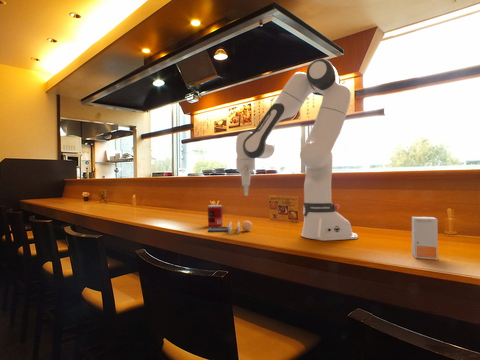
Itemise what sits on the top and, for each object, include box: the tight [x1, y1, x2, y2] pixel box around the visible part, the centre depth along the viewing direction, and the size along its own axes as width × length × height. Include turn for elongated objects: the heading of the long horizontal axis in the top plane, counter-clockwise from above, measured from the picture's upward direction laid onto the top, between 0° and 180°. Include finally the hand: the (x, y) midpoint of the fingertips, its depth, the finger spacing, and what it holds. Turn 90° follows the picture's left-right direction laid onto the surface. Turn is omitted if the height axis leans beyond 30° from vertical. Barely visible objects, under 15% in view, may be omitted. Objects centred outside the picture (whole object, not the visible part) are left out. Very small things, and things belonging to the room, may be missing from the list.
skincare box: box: [411, 216, 439, 261], centre depth 87 cm, size 6×4×12 cm
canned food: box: [207, 204, 223, 228], centre depth 158 cm, size 8×8×11 cm
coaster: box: [207, 226, 229, 233], centre depth 143 cm, size 9×9×1 cm
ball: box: [241, 220, 253, 232], centre depth 139 cm, size 5×5×5 cm
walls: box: [228, 221, 241, 235], centre depth 139 cm, size 5×16×4 cm, turn 179°
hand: (246, 195), depth 139 cm, fingers open, 8 cm apart
